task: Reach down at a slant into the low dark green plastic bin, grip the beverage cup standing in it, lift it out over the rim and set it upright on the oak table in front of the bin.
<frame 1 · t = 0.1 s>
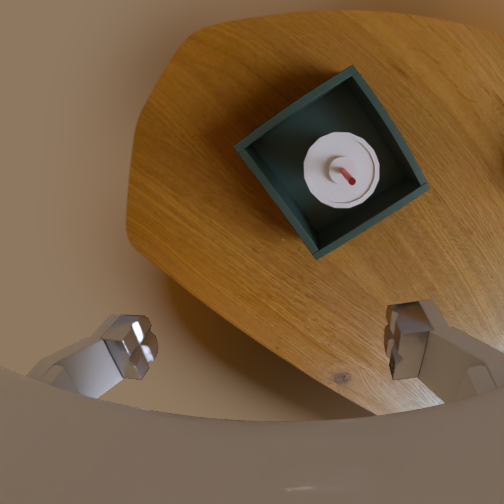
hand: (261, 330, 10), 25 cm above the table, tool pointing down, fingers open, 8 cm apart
bin: (331, 159, 30), on the table
beverage cup: (331, 159, 30), resting on bin
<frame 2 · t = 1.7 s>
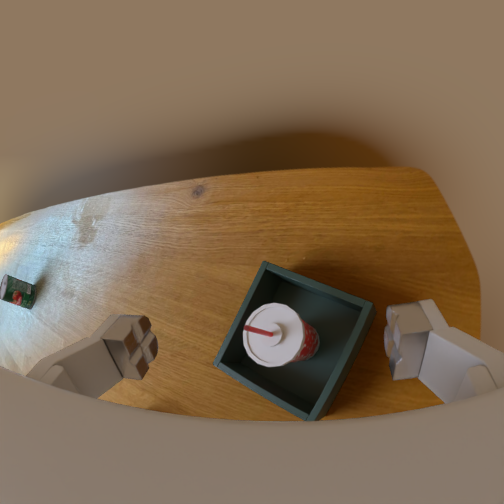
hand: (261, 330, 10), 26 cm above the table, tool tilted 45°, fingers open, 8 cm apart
canned tomato: (32, 297, 75), on the table
bin: (302, 342, 35), on the table
beverage cup: (301, 342, 35), resting on bin
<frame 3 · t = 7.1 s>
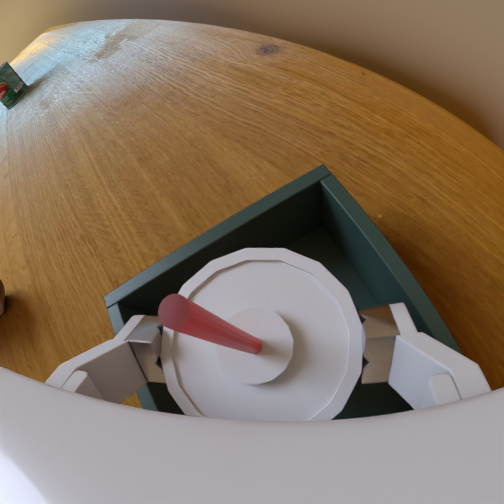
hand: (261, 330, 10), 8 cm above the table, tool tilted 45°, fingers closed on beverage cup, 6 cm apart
canned tomato: (18, 98, 51), on the table
bin: (288, 359, 17), on the table
beverage cup: (288, 359, 17), resting on bin, touching gripper
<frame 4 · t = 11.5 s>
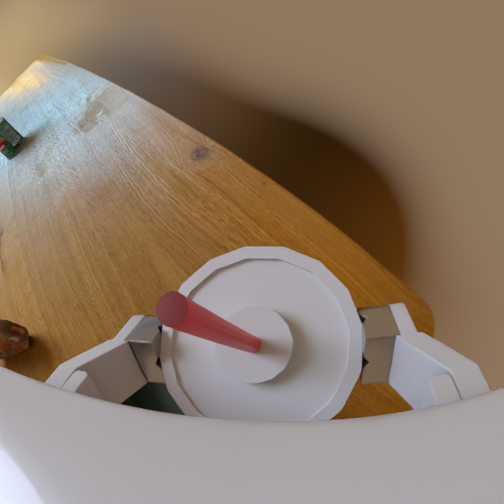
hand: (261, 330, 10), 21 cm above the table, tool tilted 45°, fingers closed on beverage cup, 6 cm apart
canned tomato: (16, 148, 64), on the table
bin: (185, 390, 30), on the table
tin: (16, 345, 38), on the table
beverage cup: (288, 358, 17), point 13 cm above the table, touching gripper
when the fingers open (8 cm above the table, at t = 16.1 s): beverage cup stays where it is, on the table.
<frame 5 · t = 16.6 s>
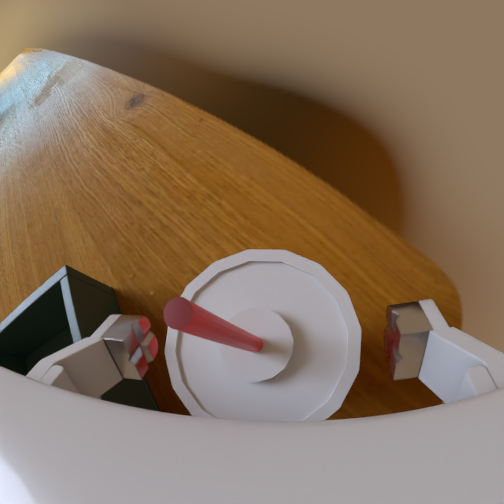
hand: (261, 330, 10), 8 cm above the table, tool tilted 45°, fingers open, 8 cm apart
bin: (80, 401, 18), on the table
beverage cup: (291, 357, 17), on the table
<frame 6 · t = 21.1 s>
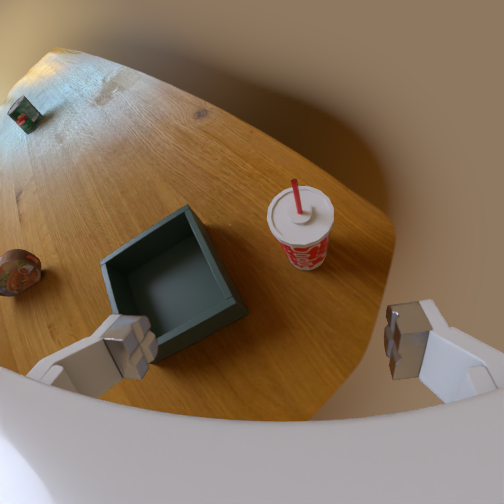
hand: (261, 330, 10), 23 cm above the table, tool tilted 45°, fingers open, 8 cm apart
canned tomato: (35, 125, 72), on the table
bin: (177, 292, 37), on the table
tin: (28, 282, 45), on the table
beverage cup: (307, 252, 35), on the table
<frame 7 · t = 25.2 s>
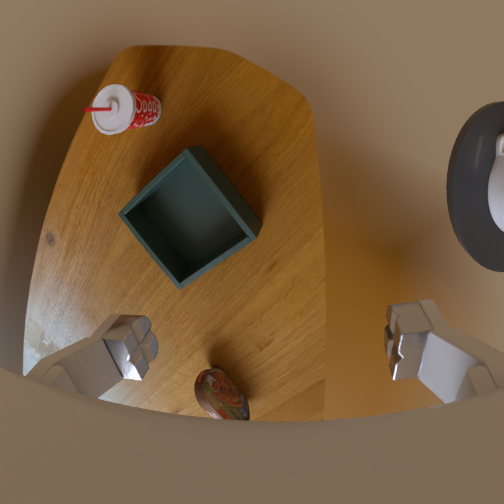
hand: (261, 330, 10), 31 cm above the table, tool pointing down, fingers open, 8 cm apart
bin: (195, 213, 42), on the table
tin: (228, 385, 55), on the table
beverage cup: (148, 110, 37), on the table
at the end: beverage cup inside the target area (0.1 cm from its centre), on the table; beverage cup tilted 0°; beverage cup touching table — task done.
